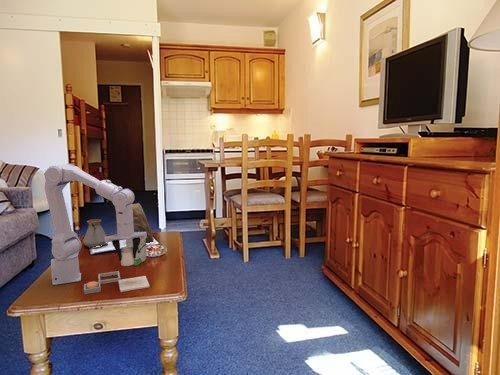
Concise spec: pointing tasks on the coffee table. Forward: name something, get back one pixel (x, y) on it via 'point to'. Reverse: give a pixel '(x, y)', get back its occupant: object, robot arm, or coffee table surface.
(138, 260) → the ink box
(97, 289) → the dock
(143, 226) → the brown tapered rock
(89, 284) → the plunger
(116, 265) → the coffee table surface
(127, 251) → the cartridge
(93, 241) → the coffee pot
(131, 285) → the mat
